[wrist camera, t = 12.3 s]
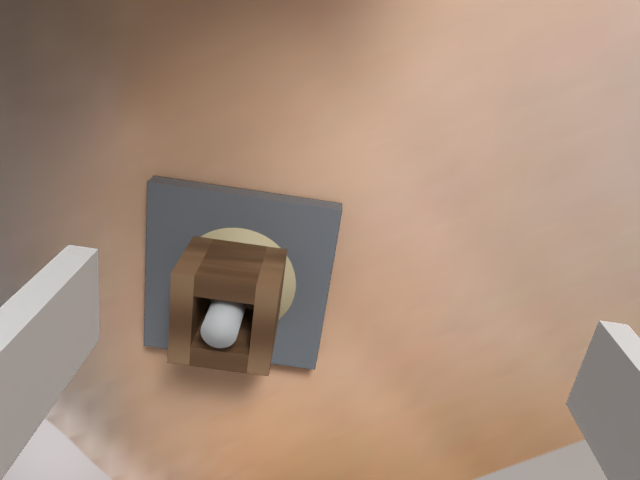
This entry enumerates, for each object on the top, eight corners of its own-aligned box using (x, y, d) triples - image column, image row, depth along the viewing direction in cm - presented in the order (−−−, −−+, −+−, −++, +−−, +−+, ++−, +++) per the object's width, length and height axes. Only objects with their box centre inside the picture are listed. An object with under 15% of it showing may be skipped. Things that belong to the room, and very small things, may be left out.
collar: (193, 235, 42) (170, 272, 36) (287, 249, 42) (279, 287, 36) (188, 316, 44) (167, 362, 39) (277, 329, 44) (268, 376, 39)
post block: (153, 175, 41) (110, 217, 34) (342, 203, 42) (342, 251, 34) (149, 335, 47) (111, 403, 39) (315, 358, 47) (311, 430, 40)
